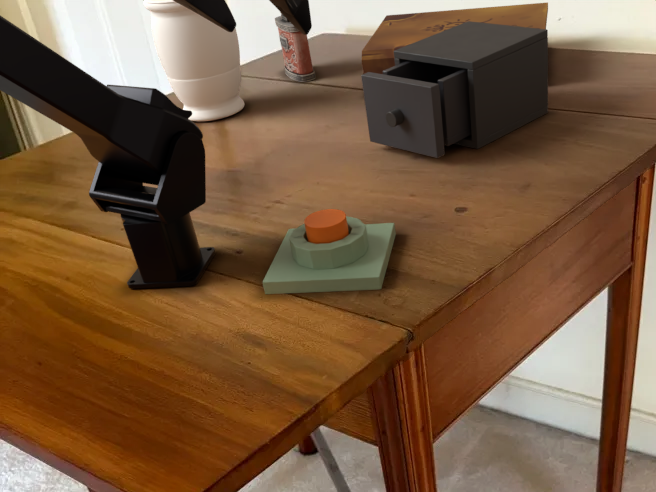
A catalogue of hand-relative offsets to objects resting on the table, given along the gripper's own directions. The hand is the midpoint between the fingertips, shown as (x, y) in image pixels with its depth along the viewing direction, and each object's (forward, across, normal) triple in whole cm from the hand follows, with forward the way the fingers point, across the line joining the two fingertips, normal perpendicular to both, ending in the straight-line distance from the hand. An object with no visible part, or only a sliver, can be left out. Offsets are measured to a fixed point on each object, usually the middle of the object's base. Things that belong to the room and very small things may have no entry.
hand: (269, 29), depth 78 cm
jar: (+22, +28, -8) cm, 36 cm away
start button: (+5, -14, +18) cm, 23 cm away
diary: (+33, +2, -27) cm, 42 cm away
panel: (+7, -14, +19) cm, 25 cm away
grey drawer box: (+24, -10, -11) cm, 28 cm away
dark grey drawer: (+20, -8, -6) cm, 22 cm away
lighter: (+30, +26, -22) cm, 45 cm away
